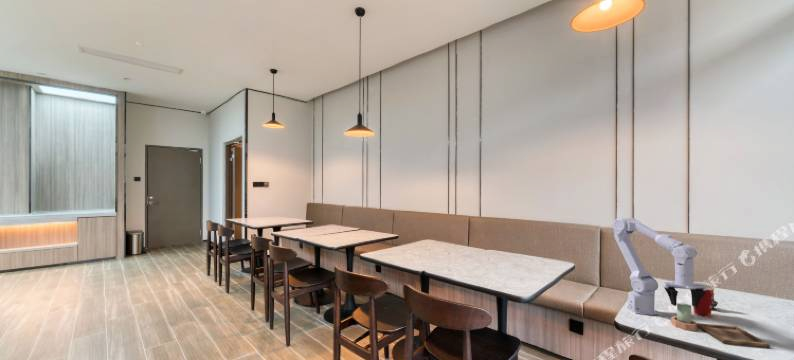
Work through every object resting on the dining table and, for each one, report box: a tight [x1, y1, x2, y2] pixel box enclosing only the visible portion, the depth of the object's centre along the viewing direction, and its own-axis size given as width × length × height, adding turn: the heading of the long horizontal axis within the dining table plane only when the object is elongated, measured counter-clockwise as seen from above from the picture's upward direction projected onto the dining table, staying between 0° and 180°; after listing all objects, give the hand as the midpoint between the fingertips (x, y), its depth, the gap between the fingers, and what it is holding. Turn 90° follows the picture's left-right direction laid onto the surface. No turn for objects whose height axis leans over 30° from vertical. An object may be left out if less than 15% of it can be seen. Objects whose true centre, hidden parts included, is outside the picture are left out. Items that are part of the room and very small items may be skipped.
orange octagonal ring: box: [670, 315, 698, 332], centre depth 129 cm, size 8×8×2 cm
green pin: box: [676, 302, 692, 324], centre depth 129 cm, size 4×4×9 cm
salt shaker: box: [711, 289, 719, 312], centre depth 146 cm, size 6×6×12 cm
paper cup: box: [692, 281, 715, 318], centre depth 140 cm, size 8×8×14 cm
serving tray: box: [696, 322, 771, 349], centre depth 120 cm, size 14×14×1 cm
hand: (684, 305), depth 129 cm, fingers open, 7 cm apart
